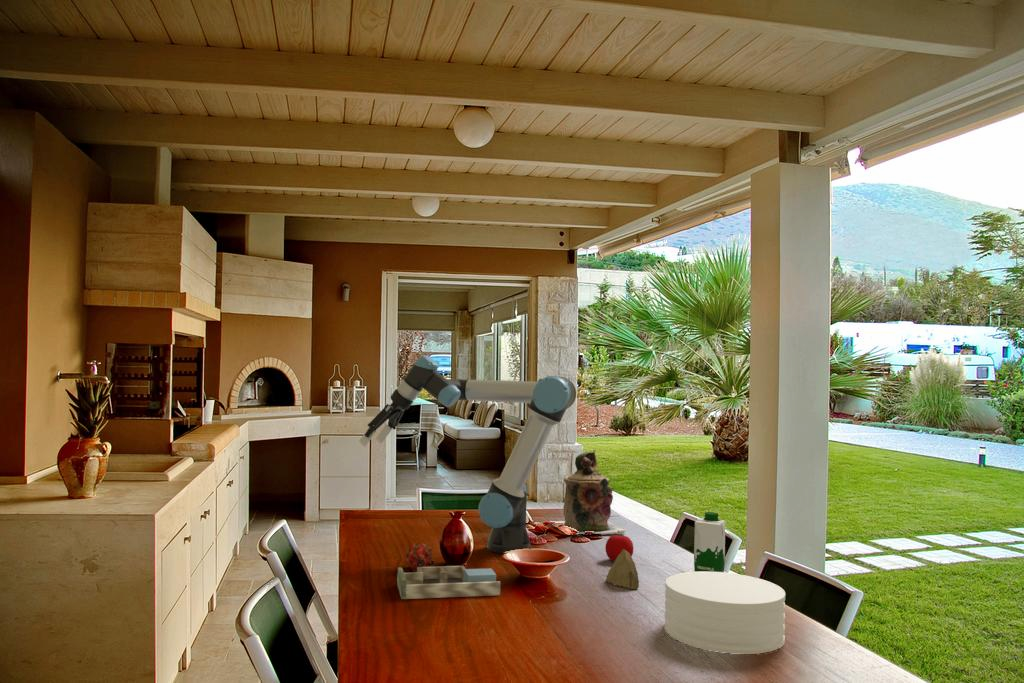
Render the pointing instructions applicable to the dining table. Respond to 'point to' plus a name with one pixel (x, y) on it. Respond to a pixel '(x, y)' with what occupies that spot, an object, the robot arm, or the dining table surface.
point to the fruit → (618, 546)
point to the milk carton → (709, 543)
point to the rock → (623, 571)
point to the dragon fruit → (419, 556)
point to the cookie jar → (588, 498)
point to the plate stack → (725, 612)
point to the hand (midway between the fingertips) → (370, 442)
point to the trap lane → (442, 583)
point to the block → (479, 575)
